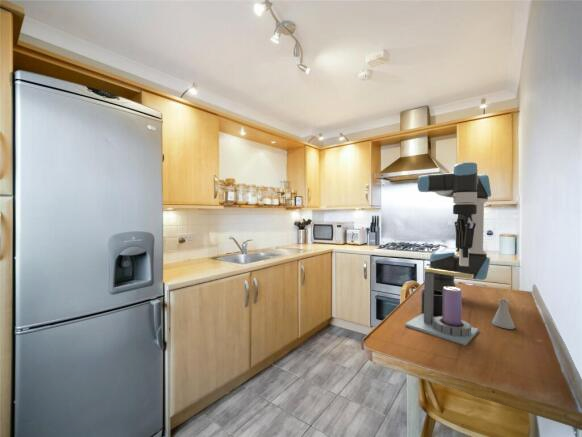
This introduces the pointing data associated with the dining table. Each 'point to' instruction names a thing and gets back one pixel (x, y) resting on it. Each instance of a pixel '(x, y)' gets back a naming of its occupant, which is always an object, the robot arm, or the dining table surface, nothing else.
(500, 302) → the flask
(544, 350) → the dining table surface
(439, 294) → the mug
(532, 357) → the dining table surface
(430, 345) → the dining table surface
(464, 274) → the lever
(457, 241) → the robot arm
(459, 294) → the beverage can
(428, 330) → the seat board
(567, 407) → the dining table surface
